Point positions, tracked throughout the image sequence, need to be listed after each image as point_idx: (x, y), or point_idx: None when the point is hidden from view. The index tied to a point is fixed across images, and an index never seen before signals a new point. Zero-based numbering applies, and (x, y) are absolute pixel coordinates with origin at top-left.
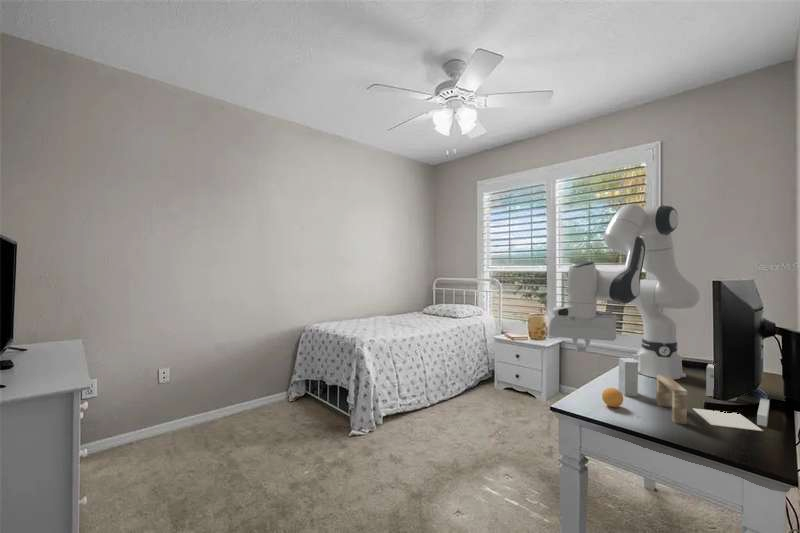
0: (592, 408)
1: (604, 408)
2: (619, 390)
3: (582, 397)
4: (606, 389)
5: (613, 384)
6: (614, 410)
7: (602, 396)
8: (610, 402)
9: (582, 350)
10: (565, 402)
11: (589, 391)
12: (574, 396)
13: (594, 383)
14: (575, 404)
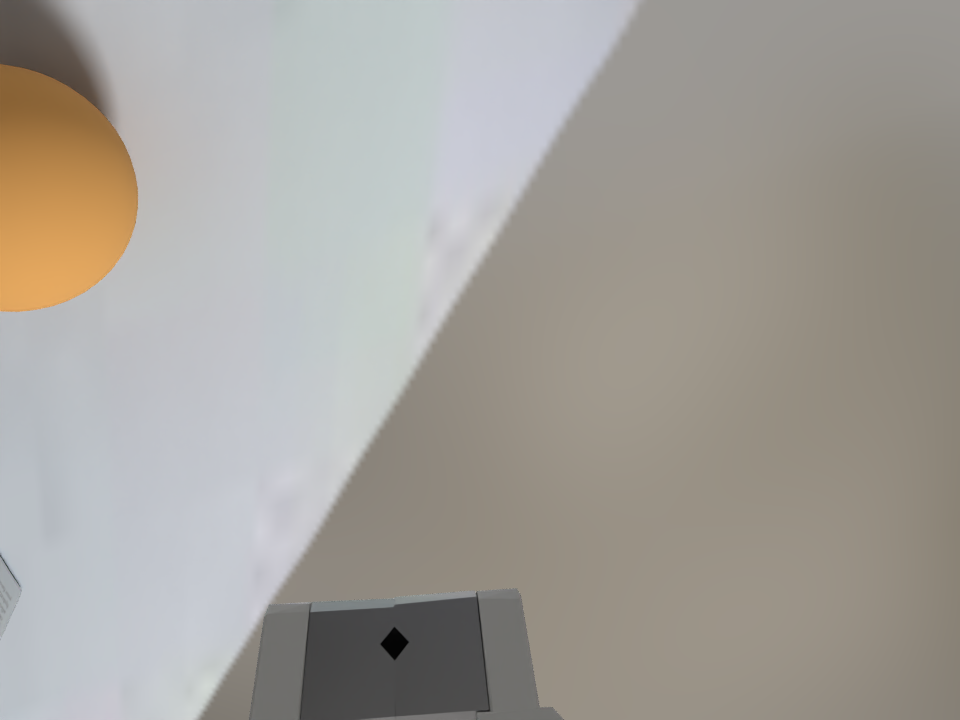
0: (264, 3)
1: (130, 54)
2: (11, 575)
3: (353, 306)
4: (51, 229)
5: (73, 684)
6: (16, 27)
7: (127, 174)
8: (35, 73)
9: (363, 632)
10: (552, 95)
11: (277, 477)
12: (432, 306)
13: (228, 656)
14: (448, 69)
